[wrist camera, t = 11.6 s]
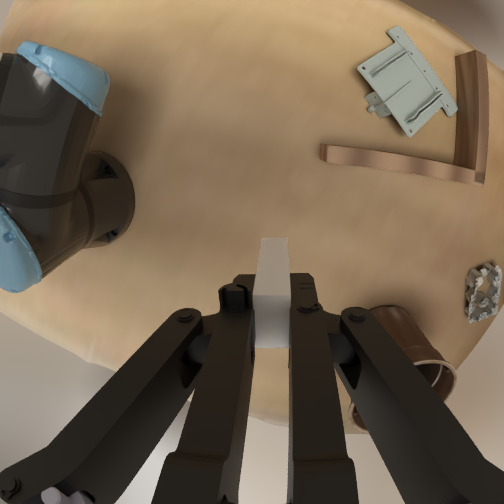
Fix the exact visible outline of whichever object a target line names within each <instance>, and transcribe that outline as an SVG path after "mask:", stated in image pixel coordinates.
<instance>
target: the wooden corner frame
mask: <svg viewBox="0 0 504 504" xmlns="http://www.w3.org/2000/svg"><path fill="white" fill-rule="evenodd" d="M455 64H456V83H457V107H458V110H457V123H456V143H455V156H454V165H453V164H448V163H444V162H439V161H435V160H430V159H425V158H419V157H414V156H408V155H403V154H397V153H391V152H384V151H377V150H370V149H362V148H354V147H346V146H336V145H326V144H321V149H320V159H321V160H323V161H325V162H326V163H335V164H345V165H354V166H363V167H371V168H379V169H386V170H393V171H400V172H407V173H413V174H419V175H425V176H430V177H436V178H441V179H446V180H451V181H456V182H461V183H466V184H470V185H475V186H479V187H484V180H485V172H486V163H487V151H488V135H489V86H488V71H487V60H486V55H485V54H483V53H481V52H479V51H477V50H474V51H471V52H468V53H465V54H462V55H459V56H456V57H455Z"/></svg>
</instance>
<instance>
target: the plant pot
mask: <svg viewBox="0 0 504 504" xmlns="http://www.w3.org/2000/svg"><path fill="white" fill-rule="evenodd" d="M370 312H371V313H372V314H373V315H374V317H375V318H376V319H377V320H378V321H379V322H380V324H381V325H382V326H383V327H384V328H385V330H386V331H387V332H388V333H389V334H390V335H391V337H392V338H393V339H394V340H395V341H396V343H397V344H398V345H399V346H400V348H401V349H402V350H403V351H404V352H405V354H406V355H407V356H408V357H409V359H410V360H411V361H412V362H413V363H414V365H415V366H416V367H417V368H418V370H419V371H420V372H421V373H422V375H423V376H424V377H425V378H426V380H427V381H428V382H429V384H430V385H431V386H432V387H433V389H434V390H435V391H436V393H437V394H438V395H439V396H440V398H441V399H442V400H443V402H444V403H445V402H447V400H448V399H449V398H450V396H451V395H452V393H453V391H454V389H455V386H456V382H457V373H456V371H455V369H454V367H453V366H452V365H451V364H450V363H449V362H447V361H445V360H444V358H443V357H442V356H441V354H440V353H439V352H438V351H437V350H436V349H434V348H433V347H432V345H431V344H430V342H429V341H428V340H427V338H426V337H425V336H424V334H423V333H422V332H421V330H420V329H419V327H418V326H417V325H416V323H415V322H414V321H413V319H412V318H411V316H410V315H409V314H408V313H407V312H406V311H405V310H404V309H402V308H400V307H397V306H392V307H383V306H381V307H377V308H375V309H372V310H370ZM348 416H349V421H350V423H351V424H352V426H353V427H355V428H356V429H358V430H360V431H362V432H366V433H369V432H368V430H367V428H366V426H365V424H364V422H363V420H362V418H361V416H360V415H359V413H358V411H357V409H356V407H355V405H354V403H353V401H352V399H351V404H350V407H349V411H348Z"/></svg>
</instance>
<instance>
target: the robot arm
mask: <svg viewBox="0 0 504 504" xmlns="http://www.w3.org/2000/svg"><path fill="white" fill-rule="evenodd" d="M16 52H17V54H10V53H0V287H1V288H2V289H4V290H6V291H8V292H12V293H18V292H22V291H24V290H26V289H27V288H29V287H30V286H32V285H33V284H37V283H39V282H40V281H41V279H42V278H44V277H45V276H46V275H47V274H49V273H50V272H51V271H53V270H54V269H55V268H57V267H58V266H59V265H61V264H62V263H63V262H65V261H66V260H67V259H69V258H70V257H71V256H73V255H74V254H76V253H77V252H78V251H80V250H81V249H84V248H92V247H100V246H104V245H107V244H109V243H111V242H113V241H114V240H116V239H117V238H118V237H120V236H121V235H122V234H123V233H124V232H125V231H126V230H127V228H128V227H129V225H130V223H131V220H132V217H133V214H134V207H135V196H134V189H133V185H132V182H131V180H130V177H129V175H128V173H127V172H126V170H125V168H124V167H123V166H122V165H121V164H120V162H119V161H117V160H116V159H115V158H114V157H112V156H110V155H108V154H106V153H103V152H88V151H89V148H90V145H91V142H92V139H93V136H94V133H95V130H96V127H97V124H98V122H99V119H100V117H102V114H103V112H102V109H103V106H104V103H105V100H106V97H107V94H108V91H109V88H110V77H109V75H108V73H107V72H106V71H105V70H104V69H102V68H101V67H99V66H97V65H95V64H93V63H91V62H88V61H86V60H84V59H81V58H79V57H77V56H74V55H72V54H69V53H66V52H64V51H61V50H58V49H55V48H52V47H47V46H45V45H41V44H38V43H35V42H31V41H24V42H23V43H22V44H21V45H20V46H19V47H18V48H17V50H16ZM218 292H219V301H220V311H219V312H218V313H216V314H213V315H208V316H202V315H201V312H200V311H198V310H196V309H193V308H185V309H180V310H178V311H176V312H174V313H173V314H172V315H171V316H170V317H169V318H168V319H167V320H166V321H165V322H164V323H163V324H162V325H161V326H160V327H159V328H158V329H157V330H156V331H155V332H154V333H153V334H152V335H151V336H150V337H149V338H148V340H147V341H146V342H145V343H144V344H143V345H142V346H141V347H140V348H139V349H138V350H137V351H136V352H135V353H134V354H133V355H132V356H131V357H130V358H129V359H128V360H127V361H126V363H125V364H124V365H123V366H122V367H121V368H120V369H119V370H118V371H117V372H116V373H115V374H114V375H113V376H112V377H111V378H110V379H109V381H108V382H107V383H106V384H105V385H104V386H103V387H102V388H101V389H100V390H99V391H98V392H97V393H96V394H95V396H93V398H92V399H91V400H90V401H89V402H88V403H87V404H86V405H85V406H84V407H83V408H82V409H81V410H80V412H78V414H77V415H76V416H75V417H74V418H73V419H72V420H71V421H70V422H69V423H68V424H67V426H66V427H65V428H64V429H63V430H62V431H61V432H60V433H59V434H58V435H57V436H56V437H55V438H54V440H53V441H52V442H51V443H50V444H49V445H48V446H47V447H45V448H43V449H42V450H40V451H38V452H36V453H34V454H32V455H31V456H29V457H27V458H25V459H23V460H21V461H19V462H18V463H16V464H14V465H12V466H10V467H8V468H6V469H4V470H3V471H2V472H1V473H0V497H1V499H3V500H4V501H5V502H6V503H8V504H114V503H115V502H116V501H117V500H118V499H119V497H120V496H121V495H122V494H123V492H124V491H125V490H126V488H127V487H128V485H129V484H130V483H131V481H132V480H133V478H134V477H135V476H136V474H137V473H138V471H139V469H140V468H141V467H142V466H143V464H144V463H145V461H146V460H147V458H148V457H149V456H150V454H151V453H152V451H153V450H154V448H155V447H156V445H157V444H158V442H159V441H160V439H161V438H162V437H163V435H164V433H165V432H166V430H167V429H168V428H169V426H170V425H171V423H172V422H173V420H174V419H175V417H176V416H177V414H178V413H179V411H180V410H181V408H182V407H183V405H184V404H185V402H186V401H187V399H188V398H189V396H190V395H191V393H192V392H193V390H194V389H195V391H194V394H193V397H192V401H191V404H190V407H189V410H188V414H187V417H186V420H185V424H184V427H183V430H182V434H181V437H180V440H179V444H178V447H177V449H176V451H175V452H171V453H169V454H168V455H167V456H166V459H165V461H164V464H163V467H162V470H161V473H160V477H159V480H158V483H157V486H156V490H155V493H154V496H153V499H152V502H151V504H238V490H239V482H240V474H241V467H242V459H243V451H244V443H245V436H246V427H247V418H248V411H249V403H250V395H251V386H252V378H253V369H254V360H255V348H289V364H288V368H289V453H288V456H289V457H288V489H287V504H359V500H358V490H357V481H356V473H355V466H354V462H353V460H352V459H351V458H349V457H348V455H347V449H346V442H345V434H344V427H343V420H342V413H341V407H340V400H339V394H338V388H337V382H336V376H335V370H334V367H335V369H336V371H337V373H338V375H339V377H340V379H341V381H342V382H343V384H344V386H345V388H346V390H347V392H348V394H349V396H350V397H351V399H352V401H353V403H354V405H355V407H356V409H357V411H358V413H359V415H360V416H361V418H362V420H363V422H364V424H365V426H366V428H367V430H368V432H369V434H370V436H371V437H372V439H373V441H374V443H375V445H376V447H377V449H378V451H379V453H380V455H381V457H382V459H383V460H384V463H385V465H386V467H387V469H388V471H389V472H390V475H391V476H392V478H393V480H394V482H395V484H396V486H397V488H398V490H399V492H400V494H401V496H402V498H403V500H404V502H405V504H504V471H502V470H501V469H499V468H498V467H496V466H495V465H493V464H492V463H490V462H489V461H487V460H486V459H485V458H484V457H483V455H482V454H481V452H480V451H479V450H478V448H477V447H476V446H475V444H474V443H473V441H472V440H471V438H470V437H469V435H468V434H467V433H466V431H465V430H464V429H463V427H462V426H461V424H460V423H459V422H458V420H457V419H456V418H455V416H454V415H453V414H452V412H451V411H450V410H449V408H448V407H447V406H446V405H445V403H444V402H443V400H442V399H441V398H440V396H439V395H438V394H437V393H436V391H435V390H434V389H433V387H432V386H431V385H430V384H429V382H428V381H427V380H426V378H425V377H424V376H423V375H422V373H421V372H420V371H419V370H418V368H417V367H416V366H415V365H414V363H413V362H412V361H411V360H410V359H409V357H408V356H407V355H406V354H405V352H404V351H403V350H402V349H401V348H400V346H399V345H398V344H397V343H396V341H395V340H394V339H393V338H392V337H391V335H390V334H389V333H388V332H387V331H386V330H385V328H384V327H383V326H382V325H381V324H380V322H379V321H378V320H377V319H376V318H375V317H374V315H373V314H372V313H371V312H370V311H368V310H367V309H364V308H361V307H349V308H346V309H344V310H343V311H342V313H341V315H336V314H331V313H328V312H326V311H324V310H323V307H322V306H321V304H320V303H318V298H317V293H316V289H315V283H314V278H313V277H312V276H311V275H310V274H309V273H290V271H289V256H288V242H287V238H262V240H261V246H260V252H259V258H258V265H257V271H256V274H239V275H238V276H237V277H236V278H234V280H233V283H230V284H227V285H224V286H222V287H221V288H220V289H219V290H218Z"/></svg>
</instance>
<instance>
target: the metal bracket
mask: <svg viewBox="0 0 504 504" xmlns="http://www.w3.org/2000/svg"><path fill="white" fill-rule="evenodd" d="M387 33H388V34H389V35H390V36H391V38H392V39H393V40H394V41H395V43H394V44H392V45H391V46H389V47H387V48H386V49H384V50H383V51H381V52H379V53H378V54H376V55H375V56H373V57H372V58H370V59H369V60H367V61H365V62H364V63H362V64H361V65H359V66H358V67H357V70H358V71H359V72H360V73H361V75H362V76H363V77H364V78H365V79H366V81H367V82H368V83H369V84H370V86H371V87H372V88H373V89H374V92H372V93H370V94H368V95H367V96H365V97H364V98H365V99H366V101H368V103H369V105H370V107H369V108H368V111H369V112H370V113H372V112H373V111H375V112H376V113H377V114H378V116H379V118H383V117H385V116H388V115H391V114H392V115H393V116H394V117H395V119H396V120H397V122H398V123H399V125H400V126H401V128H402V129H403V131H404V132H405V134H406V135H407V136H408V137H411V136H412V135H413V134H414V133H415V132H416V131H418V130H419V129H420V128H421V127H422V126H423V125H424V124H425V123H426V122H427V121H428V120H429V119H430V118H431V117H432V116H433V115H434V114H435V113H436V112H437V111H438V110H439V109H440V108H441V107H442V108H443V109H444V110H445V112H446V114H447V115H448V117H451V116H452V115H453V114H454V113H455V112H456V111H457V110H458V107H457V105H456V103H455V101H454V100H453V98H452V97H451V95H450V93H449V92H448V90H447V89H446V88H445V86H444V85H443V83H442V82H441V80H440V79H439V77H438V76H437V74H436V73H435V71H434V70H433V69H432V67H431V66H430V64H429V63H428V62H427V60H426V59H425V58H424V56H423V55H422V54H421V52H420V51H419V50H418V48H417V47H416V46H415V45H414V42H413V41H412V40H411V39H410V37H409V36H408V35H407V34H406V33H405V31H404V30H403V29H402V28H401V27H400V26H395V27H393V28H392V29H390V30H388V31H387ZM397 37H398V38H397ZM411 54H412V55H411ZM362 67H364V68H365V70H363V69H362ZM424 71H425V72H424ZM375 97H376V98H375ZM447 106H448V107H447ZM385 110H386V111H385ZM409 130H411V131H412V132H411V133H410V132H409Z"/></svg>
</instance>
